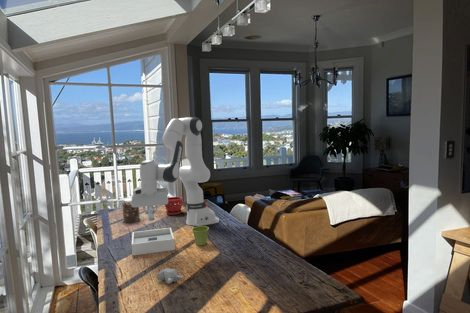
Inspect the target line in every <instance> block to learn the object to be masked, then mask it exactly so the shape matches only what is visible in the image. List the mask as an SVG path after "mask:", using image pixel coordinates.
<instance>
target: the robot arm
mask: <svg viewBox="0 0 470 313" xmlns="http://www.w3.org/2000/svg"><path fill="white" fill-rule="evenodd" d="M202 130H203V121H202V120H201V119H200V118H199V117H196V116H193V117H192V116H190V117H186V116H185V117H179V118H172V119H171V120H170V121H169V123H168V124H167V126H166V128H165V130H164V132H163V134H162V140H161V142H162V143H163V145H164V146H165V147H166V148H167V149H169V150H171V151H172V153H171V159H170V162H169V163H167V164H161V163H158V162H155V160H153V159H148V160H147V159H146V160H143V161H141V163H140V166H139V178H140V186H138V187H136V188H134V189H133V190H132V195H131V196H132V197H131V198H132V201H131V206H132V207H139V208H141V207H142V209H143V211H144V214H145V215H148V209H147V208H146V207H147V206H153V207H154V206H155V208H154V209H153V210H154V214H157V210H158V208H159V206H163V205H164V206H165V204H168V198H169V197H168V196H169V190H168V188H166V187H163V188H161V187H160V188H159V187H158V182H167V183H174V182H176V181H177V179H180V181H181V182H182V184H183V186H184V189H185V192H186V194H185V195H186V206H185V207H186V211H187V212H186V214H187V215H186V222H185V224H186V225H187V226H188V225H189V226H195V227H198V226H207V225H213V224H218V223H219V222H220V218H218V217H217V216H216V212H215V211H214V210H212V209H211V208H209V207H208V206H209V203H208V202H206V201H204V191H203V188H201V186H199V184H198V183H200V184H201V183H205V182H206V183H207V182H208V181H209V179H210V178H211V171H210V169H209V168H208V167H207V166H206V164H205V162H204V158H203V150H202V148H203V145H202V142H203V140H202V135H201V133H202ZM183 136H185V139H184V140H185V141H184V145H183V143H182V139H183ZM184 148H185V149H184ZM183 149H184V153H185V154H184V155H185V158H186V159H187V160H188V161H189V165H188V164H187V165H183V166H180V165H181V161H182V156H183Z"/></svg>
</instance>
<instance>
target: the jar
mask: <svg viewBox="0 0 470 313" xmlns="http://www.w3.org/2000/svg"><path fill="white" fill-rule="evenodd" d="M131 201H132V197H131V198H125V199H124V200H123V202H122V203H121V205H122V207H121V208H122V220H123V222H124V221H125V223H133V222H137V220H138V221H139V220H140V219H141V218H140V217H141V216H140V207H132V206H131Z"/></svg>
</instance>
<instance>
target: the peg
mask: <svg viewBox="0 0 470 313" xmlns="http://www.w3.org/2000/svg"><path fill="white" fill-rule="evenodd" d="M146 207H147V208H146V209H147V210H148V214H147V220H148V221H149V222H151V221H152V222H153V221H154V220H155V213H154V210H155V209H154V206H146Z"/></svg>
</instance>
